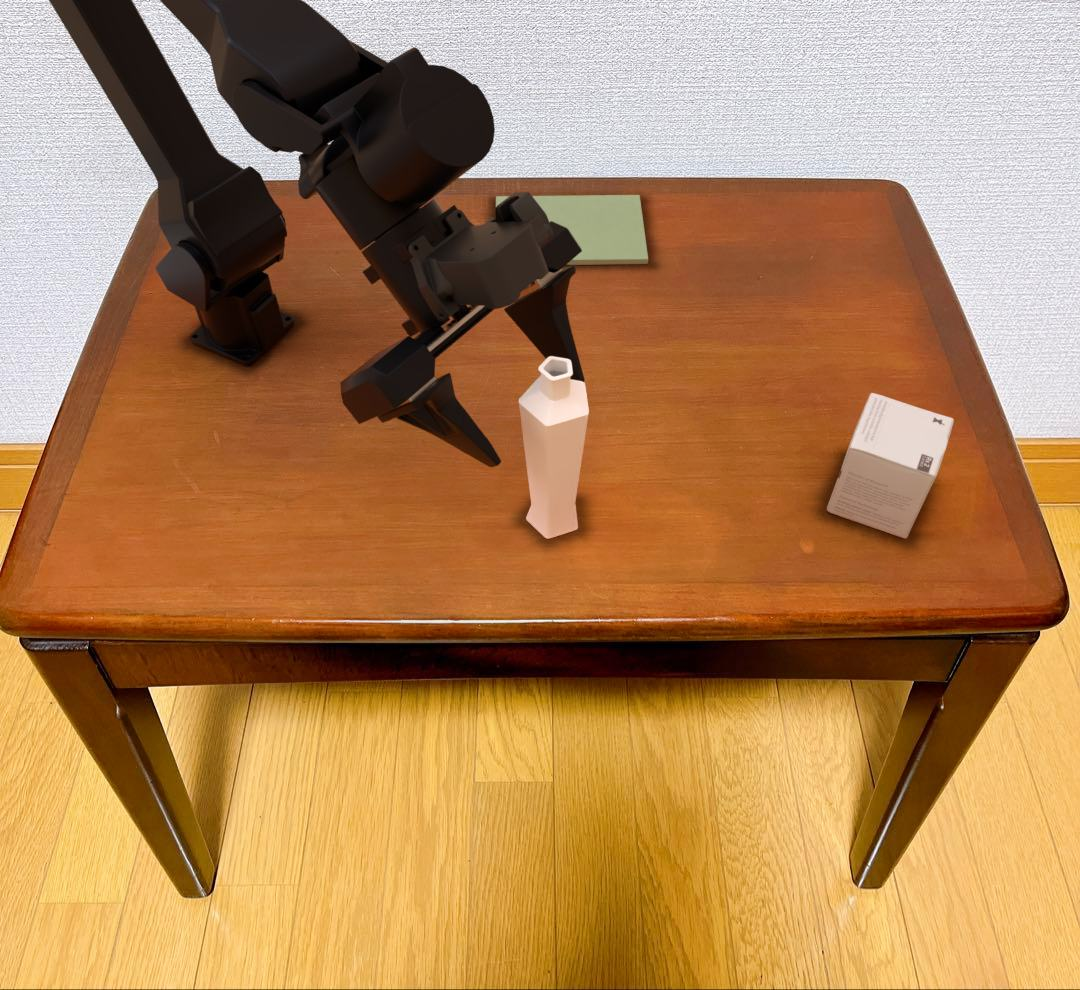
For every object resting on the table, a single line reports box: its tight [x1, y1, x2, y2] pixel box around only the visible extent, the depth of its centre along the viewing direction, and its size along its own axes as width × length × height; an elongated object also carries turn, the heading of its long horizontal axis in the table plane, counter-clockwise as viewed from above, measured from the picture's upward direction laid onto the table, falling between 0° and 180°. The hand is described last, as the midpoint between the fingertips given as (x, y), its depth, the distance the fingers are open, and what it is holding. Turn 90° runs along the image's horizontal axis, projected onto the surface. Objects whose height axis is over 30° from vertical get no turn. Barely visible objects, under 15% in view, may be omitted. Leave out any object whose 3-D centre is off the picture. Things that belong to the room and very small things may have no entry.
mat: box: [495, 194, 649, 266], centre depth 96 cm, size 14×10×1 cm
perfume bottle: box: [518, 356, 590, 540], centre depth 68 cm, size 5×4×15 cm
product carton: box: [826, 392, 955, 539], centre depth 72 cm, size 6×6×7 cm
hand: (539, 423), depth 68 cm, fingers open, 9 cm apart
